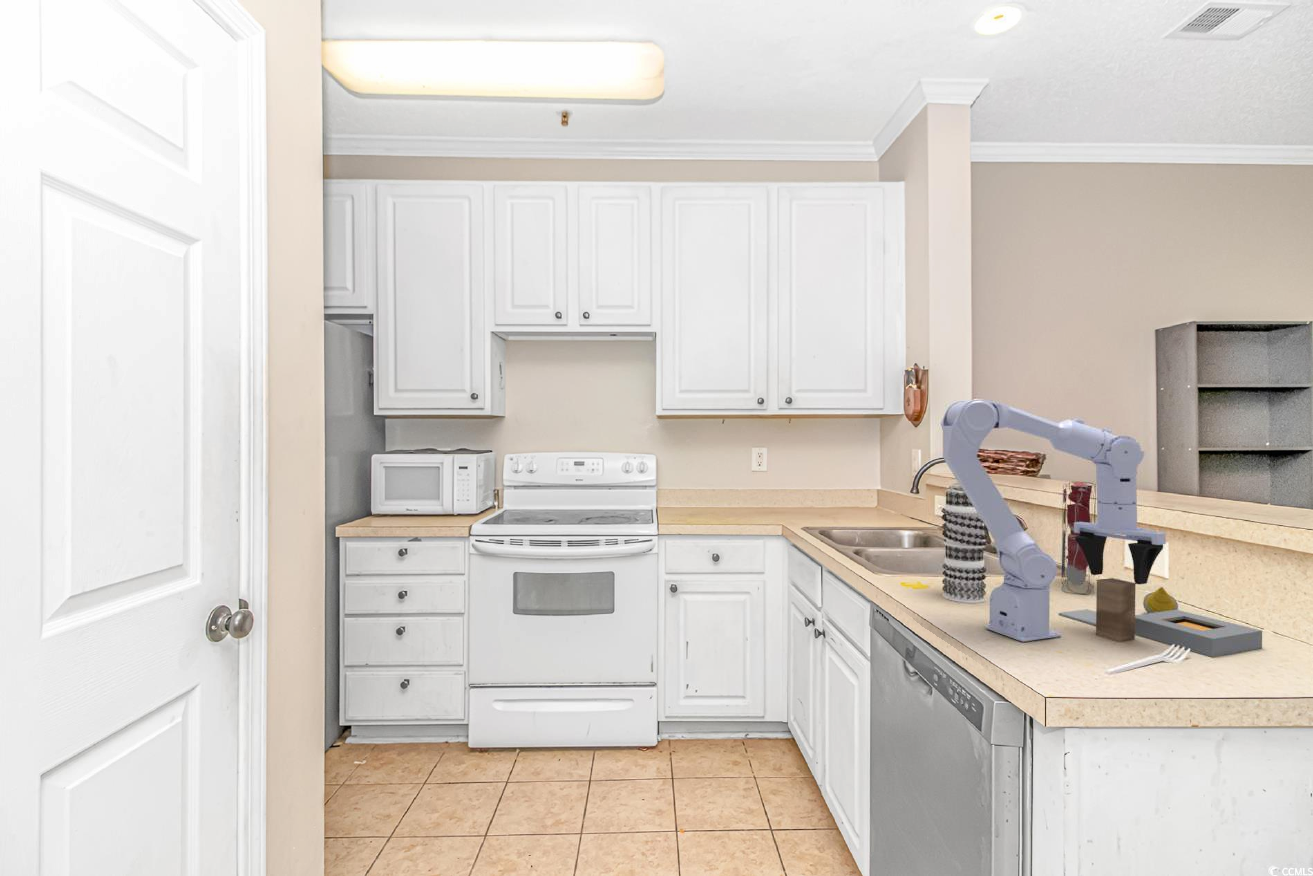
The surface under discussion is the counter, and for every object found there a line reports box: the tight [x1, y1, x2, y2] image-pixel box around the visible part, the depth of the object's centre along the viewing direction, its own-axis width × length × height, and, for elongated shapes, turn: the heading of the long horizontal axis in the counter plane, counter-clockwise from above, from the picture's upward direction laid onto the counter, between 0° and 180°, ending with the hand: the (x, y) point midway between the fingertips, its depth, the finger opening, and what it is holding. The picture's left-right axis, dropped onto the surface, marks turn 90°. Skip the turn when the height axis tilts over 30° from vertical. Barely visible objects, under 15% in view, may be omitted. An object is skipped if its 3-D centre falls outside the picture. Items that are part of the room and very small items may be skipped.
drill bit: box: [1142, 586, 1179, 614], centre depth 122 cm, size 5×5×10 cm
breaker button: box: [1175, 622, 1211, 631], centre depth 109 cm, size 6×6×1 cm
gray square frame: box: [1135, 609, 1263, 658], centre depth 109 cm, size 13×13×3 cm
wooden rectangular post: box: [1095, 577, 1137, 643], centre depth 110 cm, size 4×4×10 cm
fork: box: [1104, 644, 1191, 676], centre depth 98 cm, size 3×20×2 cm, turn 114°
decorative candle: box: [941, 482, 988, 604], centre depth 136 cm, size 9×9×25 cm
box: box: [1061, 481, 1097, 596], centre depth 142 cm, size 25×6×24 cm, turn 144°
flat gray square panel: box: [1058, 608, 1096, 627], centre depth 121 cm, size 8×8×1 cm
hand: (1118, 578), depth 110 cm, fingers open, 7 cm apart
